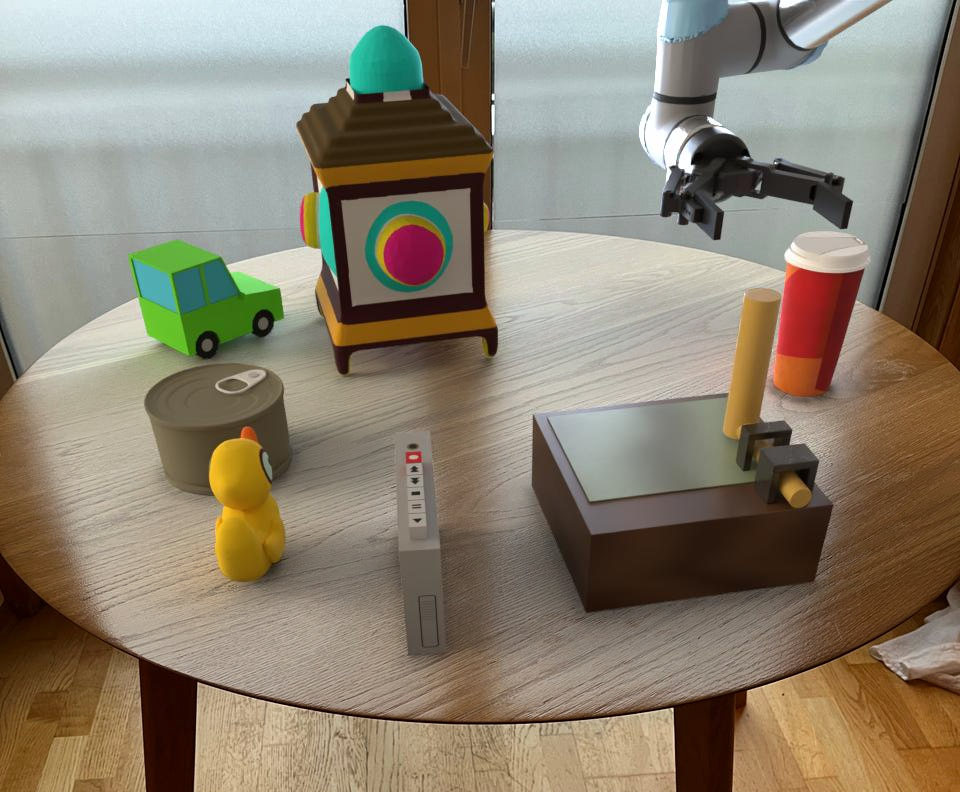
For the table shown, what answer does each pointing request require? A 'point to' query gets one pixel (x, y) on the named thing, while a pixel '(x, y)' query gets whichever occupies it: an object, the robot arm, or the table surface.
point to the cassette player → (419, 544)
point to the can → (216, 418)
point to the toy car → (200, 298)
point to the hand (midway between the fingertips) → (783, 220)
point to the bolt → (757, 380)
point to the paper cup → (817, 308)
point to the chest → (674, 502)
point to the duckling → (245, 509)
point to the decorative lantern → (396, 207)
